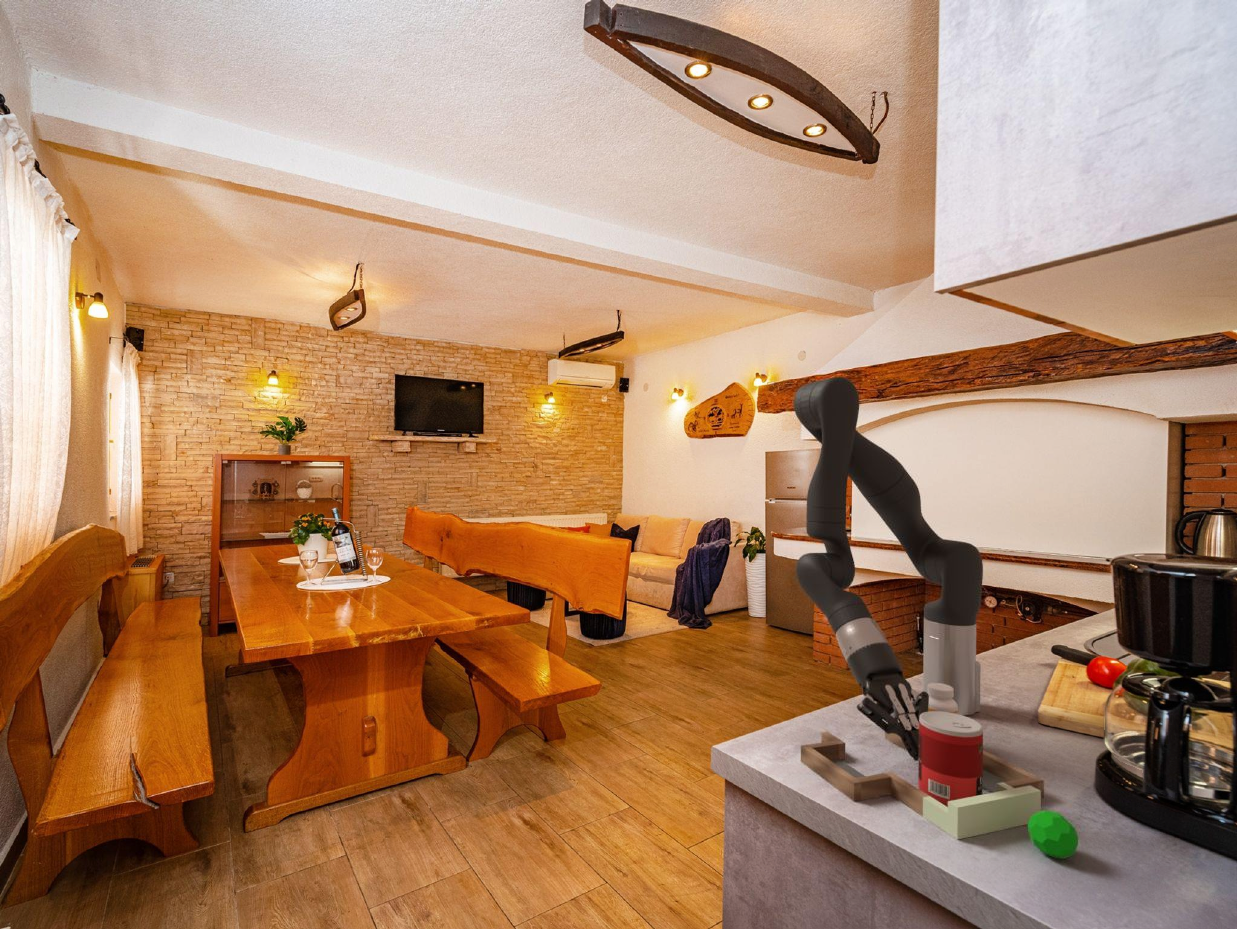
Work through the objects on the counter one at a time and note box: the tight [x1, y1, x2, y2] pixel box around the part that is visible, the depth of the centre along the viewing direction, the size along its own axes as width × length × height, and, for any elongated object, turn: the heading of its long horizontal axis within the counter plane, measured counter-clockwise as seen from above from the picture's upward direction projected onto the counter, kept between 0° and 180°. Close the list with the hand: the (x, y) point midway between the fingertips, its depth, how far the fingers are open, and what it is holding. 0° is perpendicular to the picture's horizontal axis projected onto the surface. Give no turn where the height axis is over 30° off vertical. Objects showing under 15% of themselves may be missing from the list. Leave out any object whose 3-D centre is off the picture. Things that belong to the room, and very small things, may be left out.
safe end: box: [922, 782, 1042, 840], centre depth 82 cm, size 6×14×4 cm, turn 109°
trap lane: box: [800, 722, 1045, 817], centre depth 94 cm, size 23×27×2 cm
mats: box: [830, 758, 1007, 793], centre depth 92 cm, size 17×24×1 cm
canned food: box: [917, 711, 984, 807], centre depth 87 cm, size 8×8×11 cm
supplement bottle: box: [927, 683, 958, 714], centre depth 105 cm, size 5×5×10 cm
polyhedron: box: [1027, 809, 1079, 859], centre depth 74 cm, size 5×5×5 cm
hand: (923, 758), depth 91 cm, fingers closed
